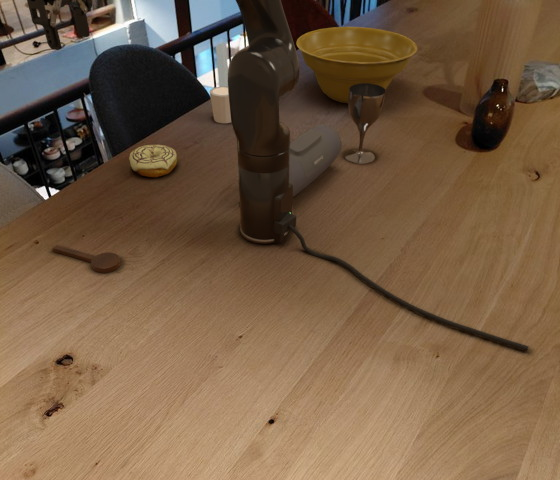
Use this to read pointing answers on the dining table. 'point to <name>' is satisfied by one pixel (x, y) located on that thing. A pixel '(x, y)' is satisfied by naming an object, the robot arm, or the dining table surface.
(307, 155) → the bluetooth speaker
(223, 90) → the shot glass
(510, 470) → the dining table surface
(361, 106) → the wine glass
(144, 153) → the decorated donut
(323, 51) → the planter bowl
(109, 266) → the spoon
